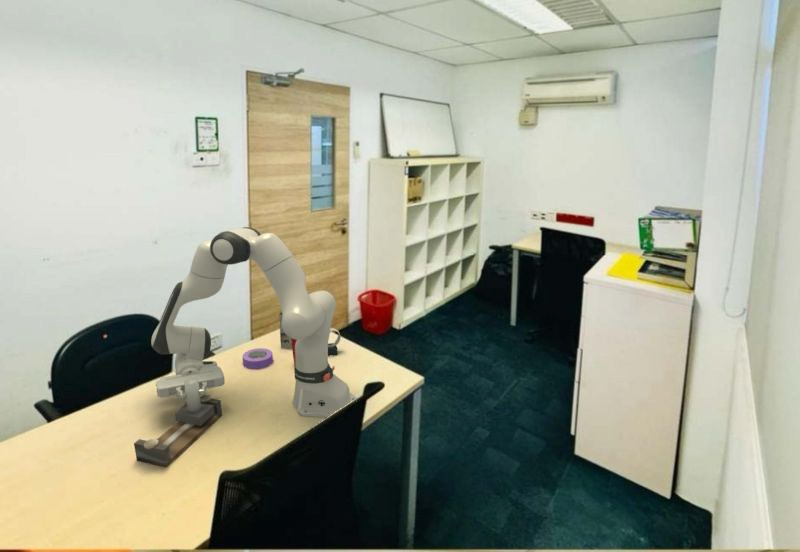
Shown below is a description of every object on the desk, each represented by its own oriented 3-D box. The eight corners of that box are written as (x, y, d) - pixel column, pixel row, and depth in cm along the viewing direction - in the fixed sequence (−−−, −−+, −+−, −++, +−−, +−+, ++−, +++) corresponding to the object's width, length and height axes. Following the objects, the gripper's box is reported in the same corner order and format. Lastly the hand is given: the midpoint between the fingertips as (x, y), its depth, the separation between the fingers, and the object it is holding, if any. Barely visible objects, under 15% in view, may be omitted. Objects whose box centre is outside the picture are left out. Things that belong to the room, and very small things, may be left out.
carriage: (190, 408, 153) (186, 373, 149) (214, 413, 151) (210, 378, 147) (175, 420, 147) (171, 384, 143) (200, 425, 145) (196, 389, 141)
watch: (320, 350, 201) (320, 327, 198) (339, 348, 204) (339, 325, 200) (322, 356, 196) (322, 332, 193) (341, 354, 198) (341, 331, 195)
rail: (197, 409, 158) (195, 392, 156) (223, 414, 155) (221, 397, 153) (134, 462, 132) (131, 443, 130) (164, 469, 130) (161, 450, 128)
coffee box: (294, 349, 202) (293, 315, 197) (280, 348, 202) (278, 314, 197) (301, 340, 210) (299, 307, 205) (287, 339, 211) (285, 306, 206)
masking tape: (246, 356, 195) (245, 348, 194) (274, 355, 196) (274, 347, 195) (240, 370, 184) (239, 361, 182) (270, 369, 185) (269, 361, 184)
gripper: (154, 372, 152) (154, 393, 140) (220, 360, 161) (225, 379, 149) (157, 388, 154) (157, 411, 142) (222, 376, 163) (227, 396, 151)
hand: (192, 394), depth 145 cm, fingers closed on carriage, 4 cm apart
